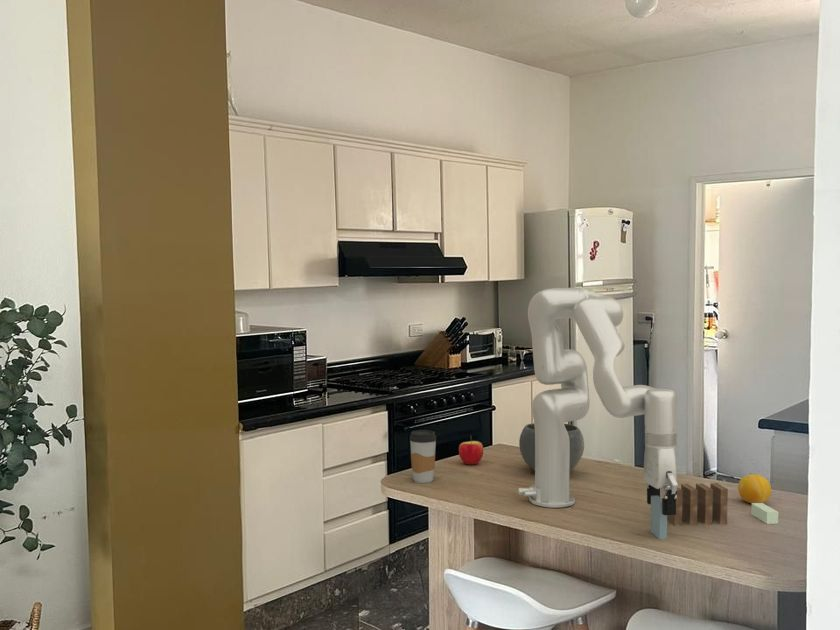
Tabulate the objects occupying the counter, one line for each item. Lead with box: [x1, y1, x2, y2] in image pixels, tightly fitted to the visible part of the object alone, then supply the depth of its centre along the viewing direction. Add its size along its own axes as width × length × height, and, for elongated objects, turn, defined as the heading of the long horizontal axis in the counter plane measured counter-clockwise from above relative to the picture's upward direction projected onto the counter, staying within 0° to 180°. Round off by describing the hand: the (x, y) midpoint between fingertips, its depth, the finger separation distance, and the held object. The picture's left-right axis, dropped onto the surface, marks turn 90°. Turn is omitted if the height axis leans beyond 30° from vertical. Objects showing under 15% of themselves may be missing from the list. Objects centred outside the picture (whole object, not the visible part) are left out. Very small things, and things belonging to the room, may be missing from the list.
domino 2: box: [666, 486, 683, 526], centre depth 207 cm, size 2×6×9 cm, turn 5°
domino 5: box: [709, 482, 729, 525], centre depth 208 cm, size 2×6×9 cm, turn 5°
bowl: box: [518, 422, 585, 472], centre depth 256 cm, size 20×20×15 cm
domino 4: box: [695, 483, 713, 525], centre depth 207 cm, size 2×6×9 cm, turn 5°
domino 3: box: [680, 483, 698, 526], centre depth 207 cm, size 2×6×9 cm, turn 5°
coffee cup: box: [409, 429, 437, 484], centre depth 247 cm, size 8×8×15 cm
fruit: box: [737, 473, 772, 504], centre depth 223 cm, size 9×8×8 cm
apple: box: [458, 435, 484, 465], centre depth 268 cm, size 8×8×10 cm
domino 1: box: [649, 496, 668, 540], centre depth 196 cm, size 2×6×9 cm, turn 5°
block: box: [750, 503, 779, 525], centre depth 209 cm, size 3×8×3 cm, turn 5°
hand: (661, 509), depth 195 cm, fingers open, 9 cm apart
